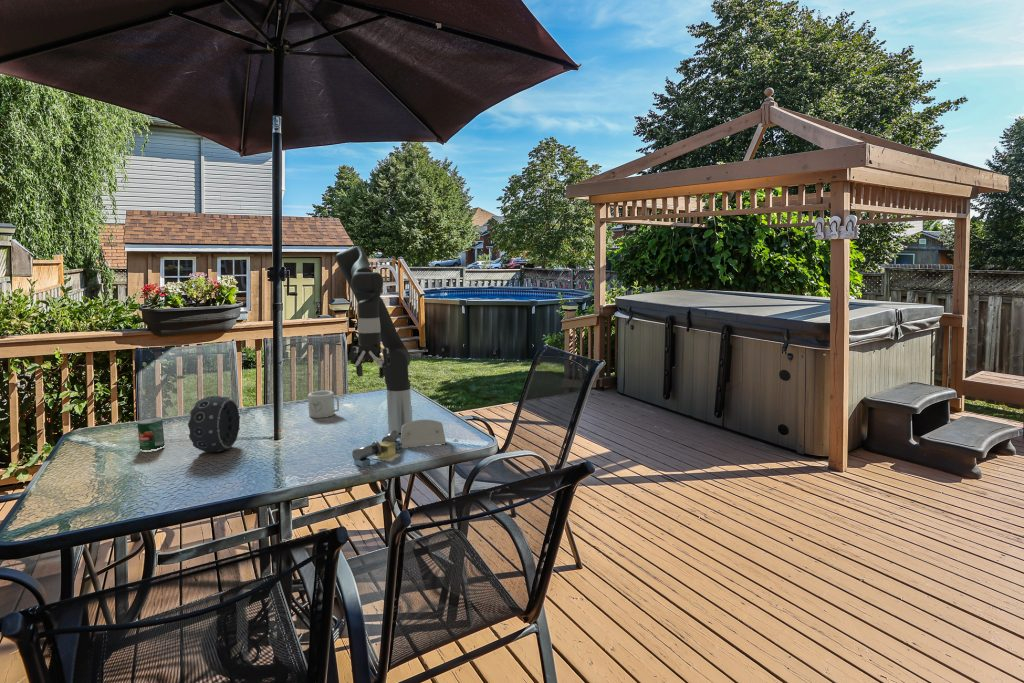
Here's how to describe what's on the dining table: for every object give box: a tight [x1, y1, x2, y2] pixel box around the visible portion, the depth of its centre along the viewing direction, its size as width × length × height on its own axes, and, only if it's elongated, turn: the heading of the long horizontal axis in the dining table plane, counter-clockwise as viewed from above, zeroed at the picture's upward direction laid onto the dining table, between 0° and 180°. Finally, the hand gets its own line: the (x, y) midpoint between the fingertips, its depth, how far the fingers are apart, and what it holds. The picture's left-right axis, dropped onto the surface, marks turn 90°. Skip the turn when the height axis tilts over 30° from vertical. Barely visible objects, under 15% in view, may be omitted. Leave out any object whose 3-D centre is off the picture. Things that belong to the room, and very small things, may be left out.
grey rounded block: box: [399, 419, 446, 449], centre depth 220 cm, size 17×5×10 cm, turn 104°
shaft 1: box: [351, 441, 382, 468], centre depth 199 cm, size 9×5×6 cm, turn 138°
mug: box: [307, 390, 340, 419], centre depth 259 cm, size 14×11×10 cm
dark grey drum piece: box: [187, 395, 241, 453], centre depth 213 cm, size 11×20×20 cm, turn 2°
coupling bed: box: [371, 453, 402, 462], centre depth 206 cm, size 7×8×1 cm
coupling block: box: [377, 441, 397, 459], centre depth 205 cm, size 4×4×4 cm
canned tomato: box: [136, 416, 166, 450], centre depth 216 cm, size 8×8×11 cm
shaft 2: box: [381, 430, 401, 450], centre depth 213 cm, size 9×5×6 cm, turn 179°
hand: (371, 376), depth 206 cm, fingers open, 8 cm apart
